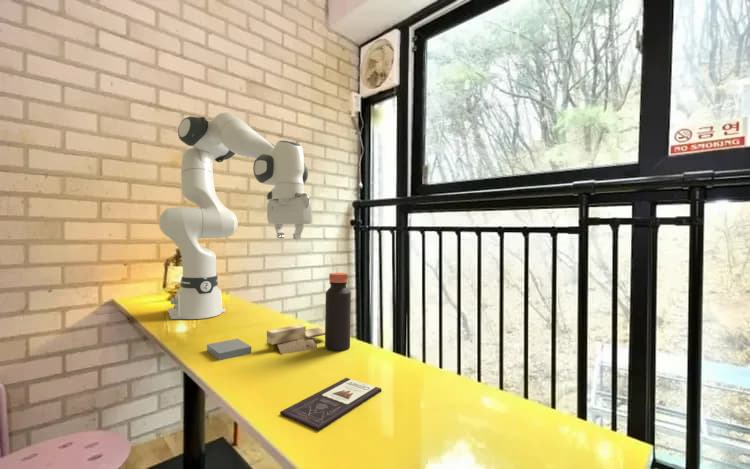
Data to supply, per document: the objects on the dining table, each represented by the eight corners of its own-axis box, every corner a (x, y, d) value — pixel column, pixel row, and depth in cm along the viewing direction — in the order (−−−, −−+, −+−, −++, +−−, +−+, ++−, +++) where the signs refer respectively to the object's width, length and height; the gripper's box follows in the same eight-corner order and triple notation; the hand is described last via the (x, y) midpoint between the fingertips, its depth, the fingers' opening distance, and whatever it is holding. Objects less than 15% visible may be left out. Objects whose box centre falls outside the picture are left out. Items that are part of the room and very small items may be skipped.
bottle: (355, 347, 100) (356, 273, 99) (336, 353, 95) (337, 276, 95) (338, 341, 104) (339, 271, 104) (319, 347, 99) (320, 273, 99)
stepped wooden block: (274, 346, 94) (274, 334, 94) (264, 340, 98) (264, 329, 98) (329, 333, 105) (329, 323, 105) (317, 329, 110) (317, 319, 110)
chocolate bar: (280, 411, 63) (346, 377, 78) (280, 417, 63) (346, 382, 78) (318, 428, 58) (381, 388, 73) (318, 434, 58) (381, 393, 73)
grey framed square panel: (207, 344, 95) (219, 353, 89) (237, 338, 101) (251, 346, 94) (207, 352, 95) (219, 362, 89) (237, 346, 101) (251, 354, 94)
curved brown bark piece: (266, 343, 104) (266, 334, 104) (300, 338, 110) (300, 329, 110) (282, 359, 92) (282, 348, 92) (319, 352, 97) (320, 342, 97)
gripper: (317, 193, 108) (316, 240, 108) (281, 196, 122) (280, 237, 123) (299, 191, 103) (298, 240, 104) (263, 194, 118) (263, 237, 118)
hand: (288, 239), depth 113 cm, fingers open, 8 cm apart
